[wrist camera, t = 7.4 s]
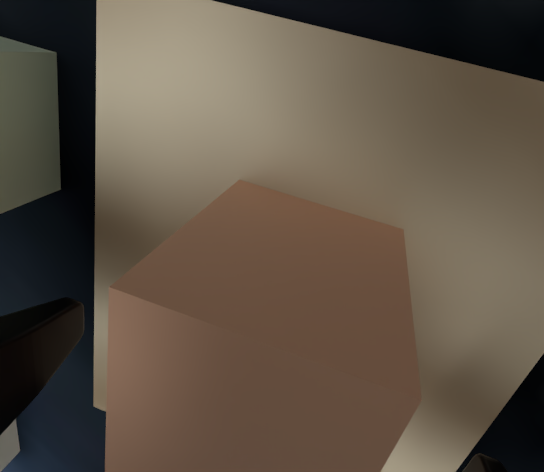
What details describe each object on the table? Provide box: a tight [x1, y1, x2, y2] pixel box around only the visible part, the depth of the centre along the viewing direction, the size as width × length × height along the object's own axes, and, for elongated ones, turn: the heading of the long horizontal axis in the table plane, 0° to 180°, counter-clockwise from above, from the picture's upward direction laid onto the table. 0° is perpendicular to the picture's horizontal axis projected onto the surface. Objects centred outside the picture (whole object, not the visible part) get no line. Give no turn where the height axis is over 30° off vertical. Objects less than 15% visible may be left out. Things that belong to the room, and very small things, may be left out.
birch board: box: [94, 0, 544, 472], centre depth 11 cm, size 14×12×1 cm
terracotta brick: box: [105, 180, 422, 472], centre depth 8 cm, size 7×4×5 cm, turn 167°
